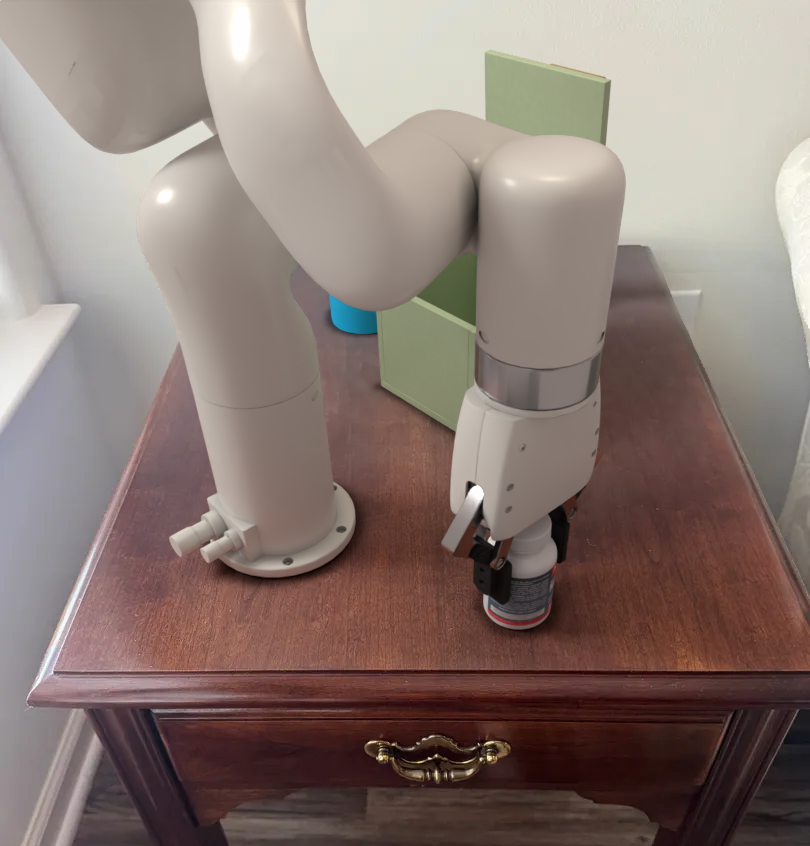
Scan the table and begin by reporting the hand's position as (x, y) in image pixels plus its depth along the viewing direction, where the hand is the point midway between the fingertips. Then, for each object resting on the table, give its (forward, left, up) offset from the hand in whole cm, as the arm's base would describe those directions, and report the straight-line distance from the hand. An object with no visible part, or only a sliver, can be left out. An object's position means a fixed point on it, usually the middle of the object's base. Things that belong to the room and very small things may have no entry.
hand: (519, 571), depth 64 cm
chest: (+20, +24, -4) cm, 31 cm away
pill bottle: (0, 0, -4) cm, 4 cm away
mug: (+22, +42, -4) cm, 48 cm away
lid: (+27, +24, +17) cm, 40 cm away
